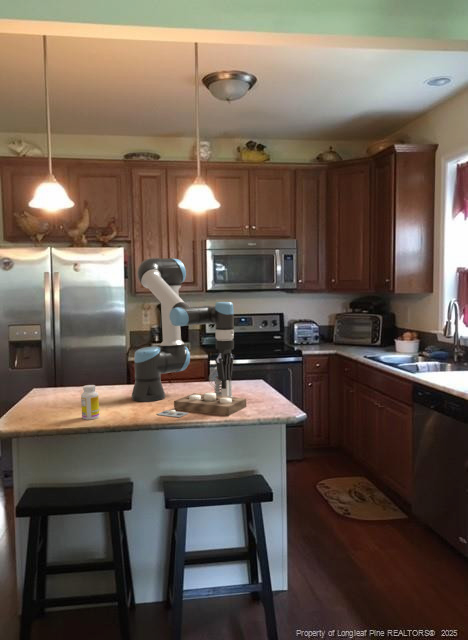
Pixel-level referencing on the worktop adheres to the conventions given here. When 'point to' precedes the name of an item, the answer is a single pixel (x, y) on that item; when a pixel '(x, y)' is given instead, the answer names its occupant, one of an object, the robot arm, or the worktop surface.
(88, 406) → the supplement bottle
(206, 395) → the button
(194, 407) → the board
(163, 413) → the card
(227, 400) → the button
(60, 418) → the worktop surface
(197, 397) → the button
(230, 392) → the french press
